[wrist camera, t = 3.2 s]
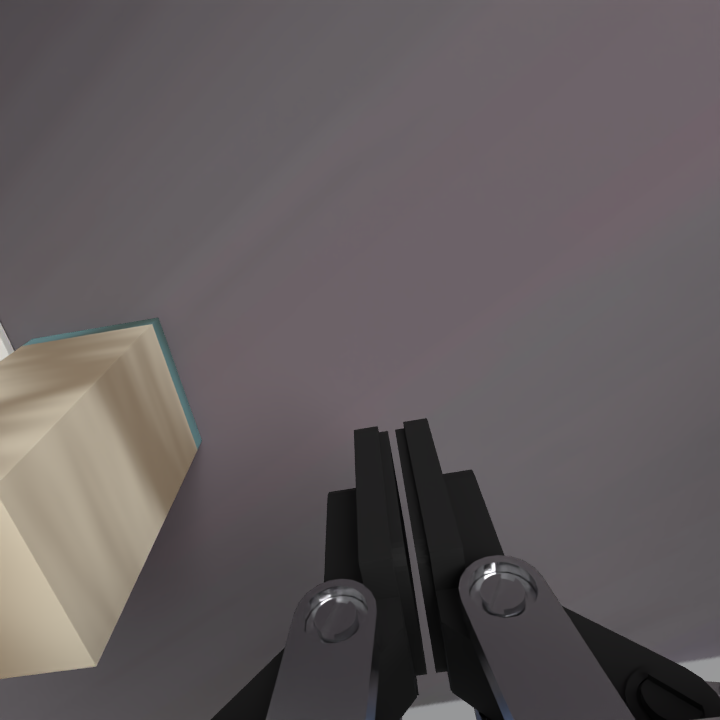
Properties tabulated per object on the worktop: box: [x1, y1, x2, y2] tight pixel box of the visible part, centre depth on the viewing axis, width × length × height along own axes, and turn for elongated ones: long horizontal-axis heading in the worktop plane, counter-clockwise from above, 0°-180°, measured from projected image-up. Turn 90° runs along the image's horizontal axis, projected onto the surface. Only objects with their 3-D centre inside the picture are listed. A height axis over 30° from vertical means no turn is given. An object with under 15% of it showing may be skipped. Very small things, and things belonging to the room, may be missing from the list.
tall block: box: [0, 318, 202, 679], centre depth 15 cm, size 4×5×9 cm
